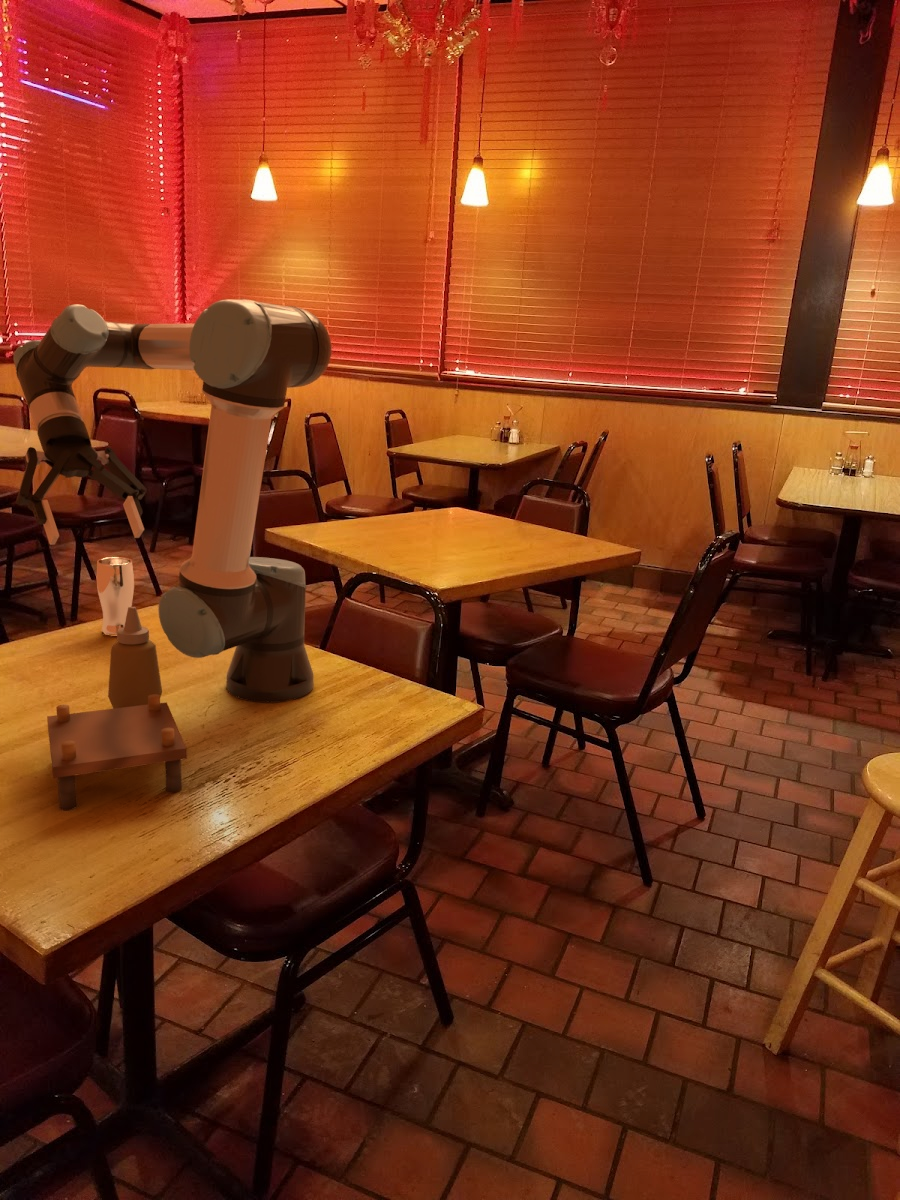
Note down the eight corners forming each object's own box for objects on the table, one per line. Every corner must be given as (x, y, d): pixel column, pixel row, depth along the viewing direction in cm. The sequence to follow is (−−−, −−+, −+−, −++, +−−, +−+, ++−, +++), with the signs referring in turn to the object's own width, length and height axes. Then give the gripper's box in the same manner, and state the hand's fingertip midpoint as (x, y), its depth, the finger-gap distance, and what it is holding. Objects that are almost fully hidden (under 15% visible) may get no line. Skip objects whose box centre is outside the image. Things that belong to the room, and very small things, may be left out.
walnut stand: (167, 742, 126) (166, 689, 123) (187, 792, 112) (186, 734, 110) (50, 758, 118) (46, 703, 116) (55, 814, 105) (51, 752, 103)
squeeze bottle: (134, 701, 139) (130, 597, 134) (173, 711, 136) (170, 606, 131) (97, 718, 132) (91, 609, 127) (138, 730, 129) (133, 618, 124)
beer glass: (114, 639, 167) (110, 566, 163) (92, 632, 170) (88, 560, 166) (143, 631, 173) (140, 561, 168) (121, 624, 176) (118, 555, 172)
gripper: (126, 440, 151) (164, 542, 145) (-27, 440, 133) (9, 555, 128) (140, 415, 146) (179, 519, 140) (-17, 411, 128) (21, 530, 123)
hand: (98, 537), depth 134 cm, fingers open, 13 cm apart
